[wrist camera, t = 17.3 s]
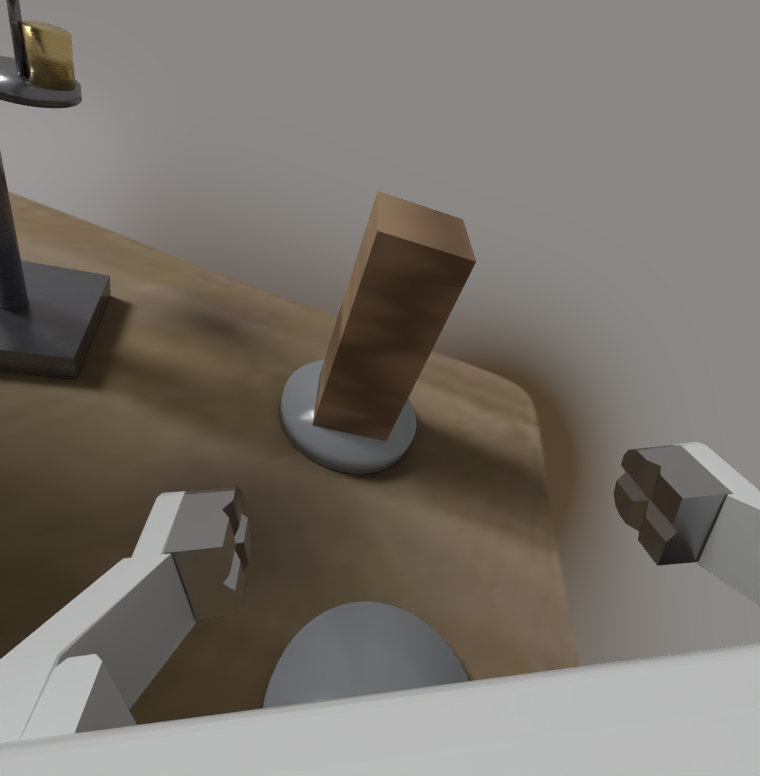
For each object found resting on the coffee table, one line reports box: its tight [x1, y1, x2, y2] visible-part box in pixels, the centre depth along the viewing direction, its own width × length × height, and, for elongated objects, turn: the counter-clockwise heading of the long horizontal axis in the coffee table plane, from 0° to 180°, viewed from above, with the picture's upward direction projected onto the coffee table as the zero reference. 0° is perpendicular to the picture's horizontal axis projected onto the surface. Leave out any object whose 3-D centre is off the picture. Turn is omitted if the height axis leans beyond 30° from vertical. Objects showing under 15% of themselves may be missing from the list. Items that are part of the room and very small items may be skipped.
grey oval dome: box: [261, 601, 469, 709], centre depth 18 cm, size 8×8×1 cm
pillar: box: [312, 192, 476, 441], centre depth 25 cm, size 4×4×12 cm
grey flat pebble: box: [279, 360, 416, 474], centre depth 30 cm, size 8×8×1 cm
